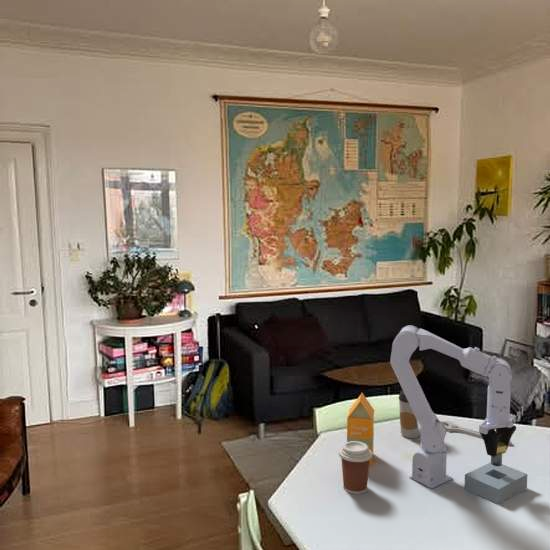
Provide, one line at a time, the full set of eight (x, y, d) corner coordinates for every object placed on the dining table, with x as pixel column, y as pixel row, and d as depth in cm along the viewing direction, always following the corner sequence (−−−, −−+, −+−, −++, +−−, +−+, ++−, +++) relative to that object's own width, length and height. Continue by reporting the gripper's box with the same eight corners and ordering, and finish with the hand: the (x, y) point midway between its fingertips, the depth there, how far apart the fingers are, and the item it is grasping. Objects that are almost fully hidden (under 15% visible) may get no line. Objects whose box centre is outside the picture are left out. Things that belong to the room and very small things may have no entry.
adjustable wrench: (513, 445, 172) (513, 440, 171) (504, 451, 167) (504, 446, 167) (444, 424, 190) (444, 419, 190) (434, 428, 186) (434, 424, 185)
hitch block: (498, 504, 135) (498, 489, 134) (464, 488, 143) (464, 474, 142) (526, 488, 143) (527, 474, 142) (493, 474, 151) (493, 460, 150)
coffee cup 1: (377, 485, 145) (377, 444, 144) (363, 499, 137) (363, 456, 136) (347, 476, 150) (347, 436, 149) (332, 490, 142) (332, 448, 141)
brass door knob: (498, 469, 139) (499, 450, 138) (483, 462, 143) (483, 443, 142) (509, 464, 141) (510, 445, 141) (493, 458, 146) (494, 439, 145)
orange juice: (346, 463, 158) (346, 400, 156) (349, 451, 166) (349, 391, 165) (372, 466, 156) (373, 402, 154) (374, 454, 165) (374, 392, 163)
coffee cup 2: (425, 433, 181) (426, 391, 179) (418, 441, 174) (419, 398, 172) (402, 428, 185) (403, 387, 184) (394, 436, 178) (395, 394, 177)
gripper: (497, 414, 133) (495, 465, 134) (527, 403, 141) (525, 451, 143) (472, 406, 139) (471, 455, 140) (502, 396, 147) (501, 442, 148)
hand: (496, 452), depth 142 cm, fingers closed on brass door knob, 5 cm apart
